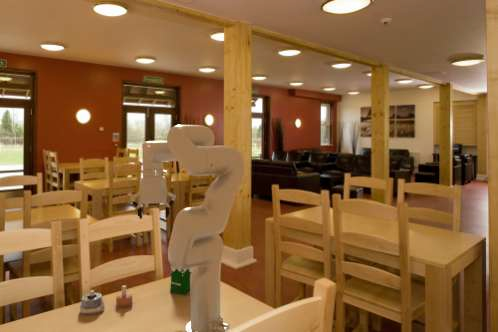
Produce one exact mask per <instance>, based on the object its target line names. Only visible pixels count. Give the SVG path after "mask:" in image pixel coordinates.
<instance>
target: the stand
mask: <svg viewBox="0 0 498 332" xmlns="http://www.w3.org/2000/svg"><path fill="white" fill-rule="evenodd" d="M115 302H116V303H115V307H116V308H117V309H127V308H130V307H132V305H133V294H131V293H127V285H122V286H121V294H119V295H117V296H116V297H115Z"/></svg>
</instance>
